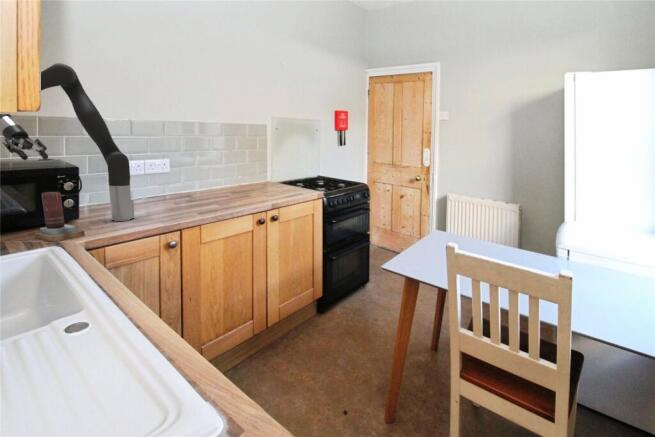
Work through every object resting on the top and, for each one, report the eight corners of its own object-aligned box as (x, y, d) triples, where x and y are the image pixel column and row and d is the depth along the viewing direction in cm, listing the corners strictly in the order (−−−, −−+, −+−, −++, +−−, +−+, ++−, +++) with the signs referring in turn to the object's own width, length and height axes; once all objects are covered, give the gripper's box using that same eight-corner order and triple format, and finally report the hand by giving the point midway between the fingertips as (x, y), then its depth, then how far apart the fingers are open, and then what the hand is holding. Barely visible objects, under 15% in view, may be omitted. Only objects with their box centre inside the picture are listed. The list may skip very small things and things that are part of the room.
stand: (66, 232, 158) (65, 223, 157) (84, 235, 153) (83, 226, 152) (34, 238, 147) (33, 228, 147) (53, 241, 142) (51, 231, 142)
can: (56, 229, 146) (51, 193, 143) (42, 228, 147) (37, 192, 144) (69, 225, 152) (64, 191, 149) (55, 224, 153) (51, 190, 150)
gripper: (-3, 122, 149) (23, 152, 149) (32, 124, 163) (57, 152, 162) (-11, 136, 152) (15, 165, 151) (25, 137, 165) (49, 164, 164)
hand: (36, 158), depth 157 cm, fingers open, 8 cm apart
